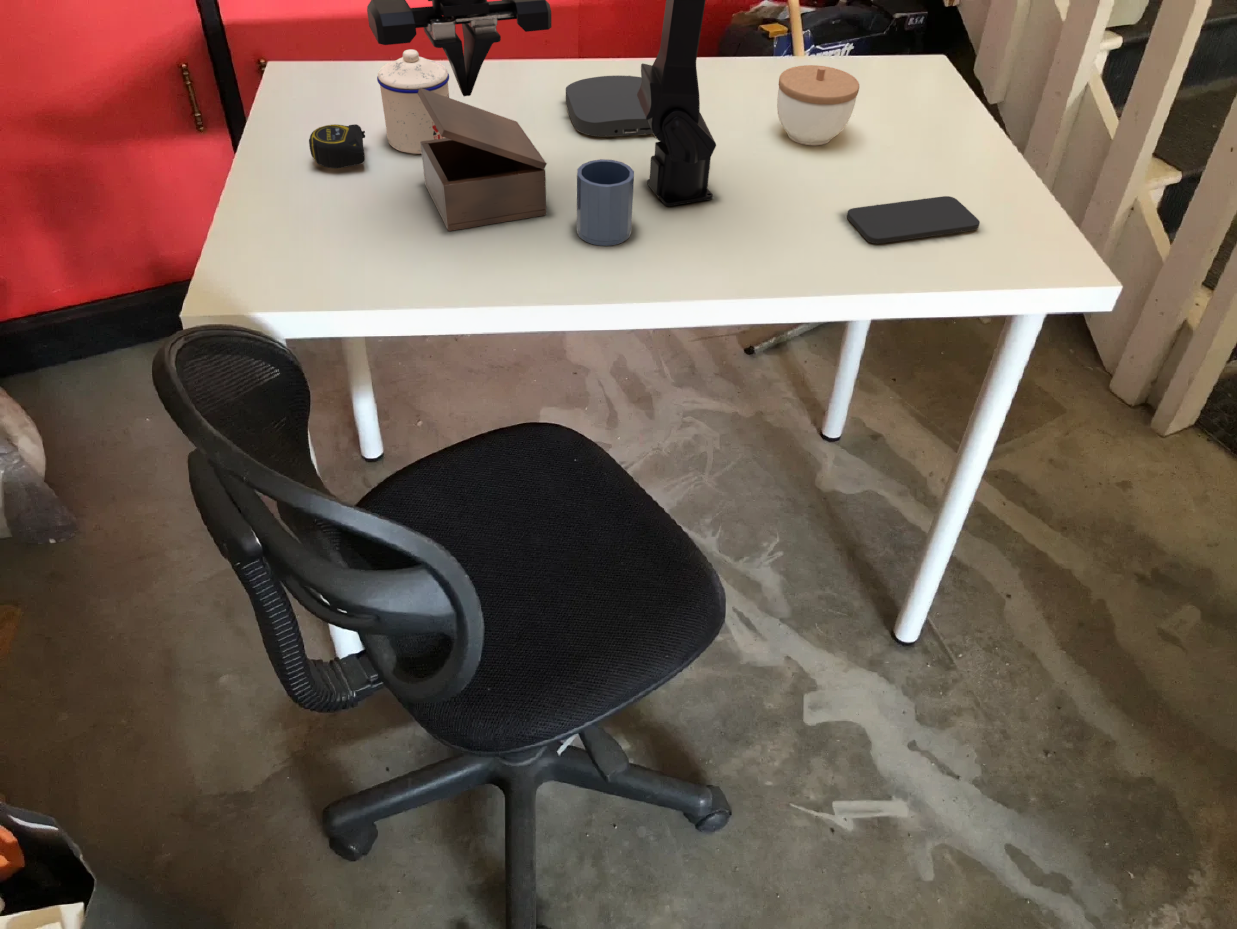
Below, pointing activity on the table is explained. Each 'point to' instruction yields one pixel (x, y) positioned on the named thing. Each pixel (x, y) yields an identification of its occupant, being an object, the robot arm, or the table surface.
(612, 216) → the cup
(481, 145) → the box lid
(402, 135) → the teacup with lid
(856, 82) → the trinket box
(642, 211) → the table surface
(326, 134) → the tape measure
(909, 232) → the phone
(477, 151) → the box
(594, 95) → the media streaming box
